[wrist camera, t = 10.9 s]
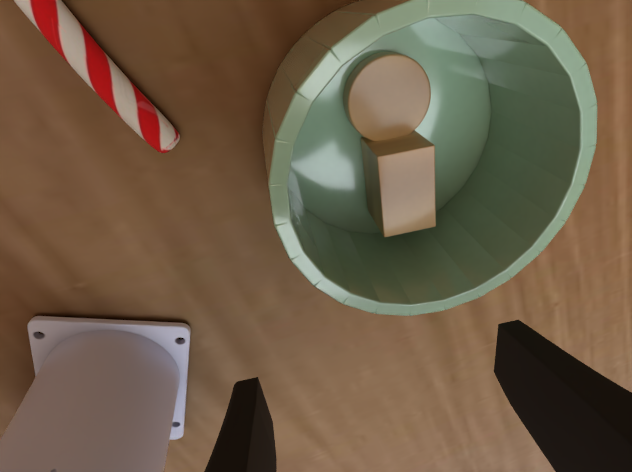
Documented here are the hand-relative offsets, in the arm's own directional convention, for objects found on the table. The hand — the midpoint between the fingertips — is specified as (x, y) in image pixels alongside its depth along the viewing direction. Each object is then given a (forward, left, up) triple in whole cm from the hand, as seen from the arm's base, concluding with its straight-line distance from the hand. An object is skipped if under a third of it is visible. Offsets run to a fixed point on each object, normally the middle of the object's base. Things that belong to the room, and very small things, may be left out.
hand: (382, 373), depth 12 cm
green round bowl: (+5, -2, -10) cm, 12 cm away
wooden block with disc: (+4, -2, -10) cm, 11 cm away
